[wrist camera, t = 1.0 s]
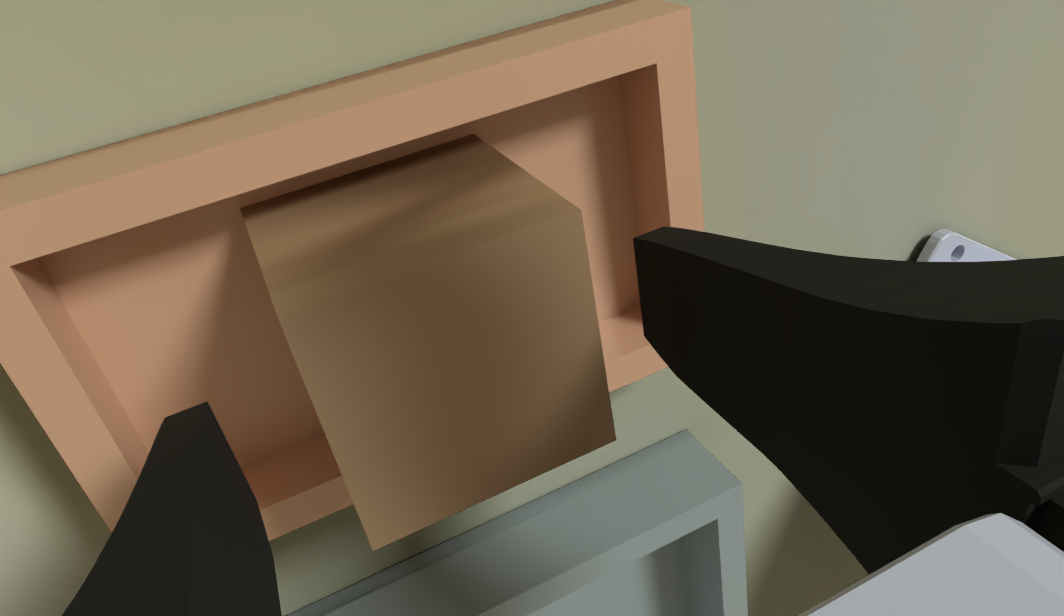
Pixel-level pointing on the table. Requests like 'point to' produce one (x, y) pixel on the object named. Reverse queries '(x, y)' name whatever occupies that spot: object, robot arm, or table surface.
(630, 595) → the slate tray
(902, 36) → the table surface
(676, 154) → the terracotta holder
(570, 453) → the walnut block
